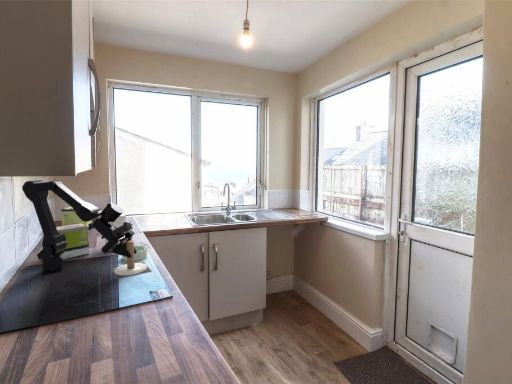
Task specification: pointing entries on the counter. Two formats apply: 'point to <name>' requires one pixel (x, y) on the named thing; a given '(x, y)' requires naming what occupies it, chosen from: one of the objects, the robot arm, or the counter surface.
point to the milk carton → (119, 221)
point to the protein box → (71, 217)
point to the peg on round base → (130, 263)
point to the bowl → (138, 253)
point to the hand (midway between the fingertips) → (133, 255)
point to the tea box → (75, 240)
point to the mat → (130, 275)
